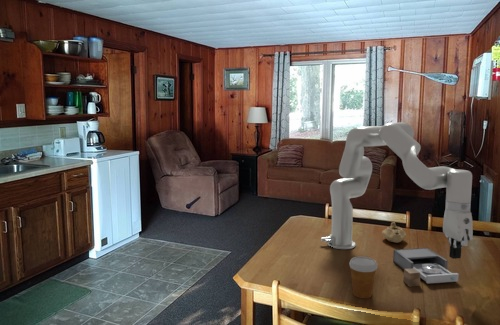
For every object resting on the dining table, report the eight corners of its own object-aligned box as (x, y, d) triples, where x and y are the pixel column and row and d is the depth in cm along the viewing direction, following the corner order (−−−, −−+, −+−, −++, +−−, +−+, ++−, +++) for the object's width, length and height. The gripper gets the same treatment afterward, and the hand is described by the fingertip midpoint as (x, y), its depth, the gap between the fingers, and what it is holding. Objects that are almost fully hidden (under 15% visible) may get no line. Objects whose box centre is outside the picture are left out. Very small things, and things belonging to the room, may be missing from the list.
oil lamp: (389, 247, 184) (389, 230, 183) (378, 236, 199) (378, 221, 197) (412, 246, 184) (413, 230, 183) (400, 236, 199) (400, 220, 198)
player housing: (410, 275, 153) (411, 262, 153) (393, 261, 167) (393, 249, 166) (446, 272, 155) (447, 260, 154) (426, 259, 169) (427, 247, 168)
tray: (428, 284, 144) (428, 276, 144) (408, 268, 158) (408, 261, 157) (459, 281, 146) (459, 274, 145) (436, 266, 159) (436, 259, 159)
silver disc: (427, 276, 149) (428, 270, 148) (417, 268, 156) (417, 263, 155) (445, 274, 150) (445, 269, 149) (434, 267, 157) (434, 262, 156)
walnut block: (409, 286, 144) (409, 273, 143) (403, 281, 148) (404, 268, 147) (419, 285, 144) (420, 272, 144) (413, 281, 148) (414, 268, 148)
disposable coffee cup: (344, 288, 143) (345, 256, 141) (370, 287, 144) (371, 255, 142) (353, 301, 133) (354, 267, 132) (381, 299, 134) (382, 266, 133)
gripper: (483, 210, 129) (479, 265, 131) (454, 200, 143) (451, 249, 146) (461, 212, 128) (458, 266, 130) (434, 201, 143) (432, 250, 145)
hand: (455, 257), depth 138 cm, fingers closed
